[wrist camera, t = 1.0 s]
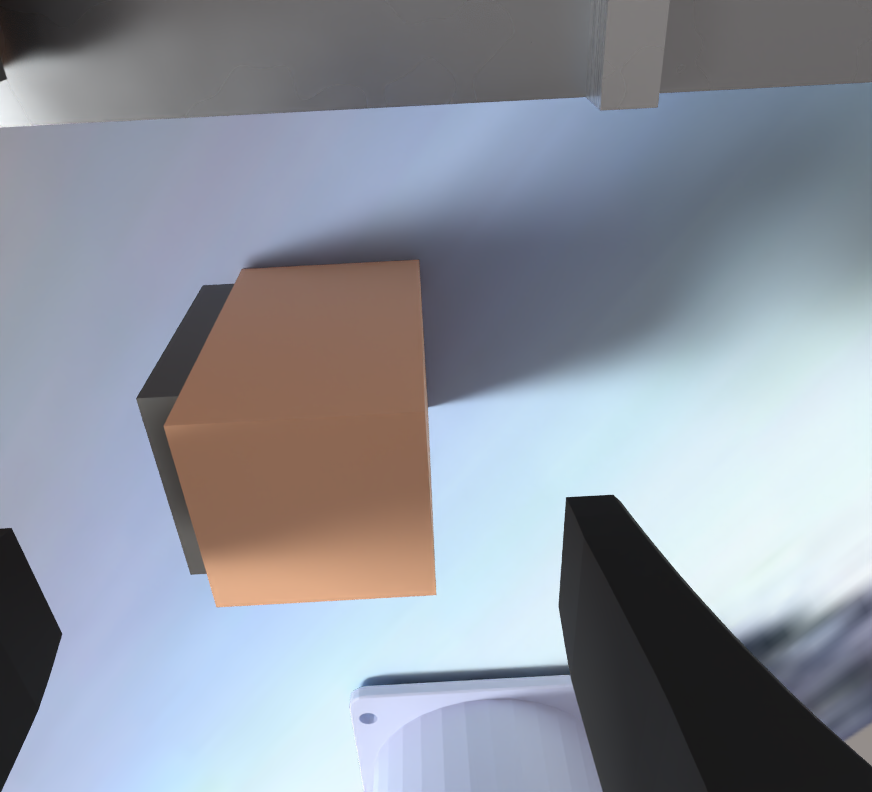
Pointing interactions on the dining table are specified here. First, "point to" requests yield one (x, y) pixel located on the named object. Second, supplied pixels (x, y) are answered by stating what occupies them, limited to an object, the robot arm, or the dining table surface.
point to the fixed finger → (2, 72)
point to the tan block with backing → (299, 435)
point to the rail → (407, 53)
